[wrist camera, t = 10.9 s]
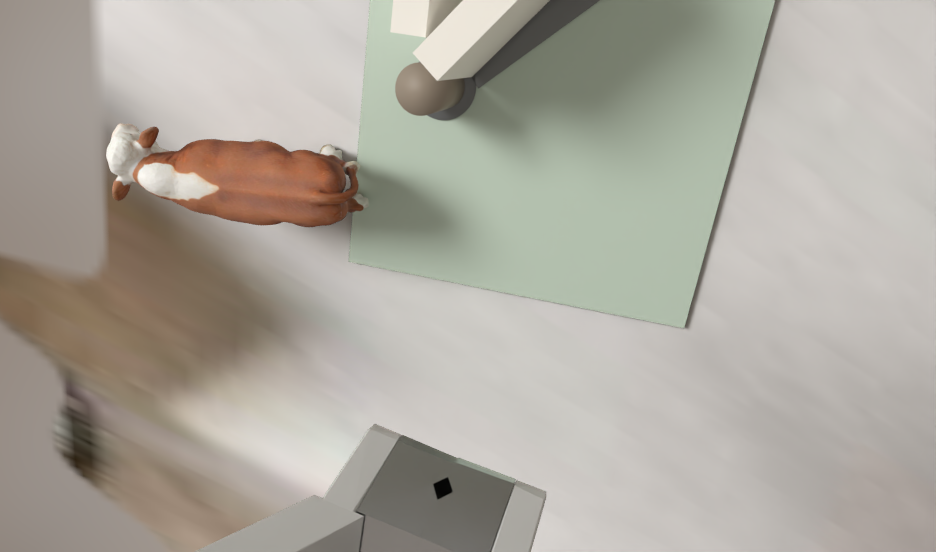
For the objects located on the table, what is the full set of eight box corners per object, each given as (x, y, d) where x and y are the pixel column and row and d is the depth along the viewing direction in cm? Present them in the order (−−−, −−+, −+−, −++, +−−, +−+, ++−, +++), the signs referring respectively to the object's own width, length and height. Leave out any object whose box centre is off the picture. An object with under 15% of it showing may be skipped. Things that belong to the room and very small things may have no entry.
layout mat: (683, 326, 37) (684, 328, 36) (350, 260, 39) (348, 262, 39) (791, -63, 30) (793, -65, 30) (381, -112, 33) (378, -114, 32)
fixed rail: (461, 112, 35) (425, 125, 28) (419, 105, 35) (372, 116, 28) (490, -100, 32) (457, -150, 24) (442, -106, 32) (396, -157, 24)
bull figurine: (184, 107, 38) (76, 112, 31) (395, 153, 36) (334, 171, 29) (182, 179, 40) (77, 201, 32) (385, 227, 38) (324, 263, 30)
